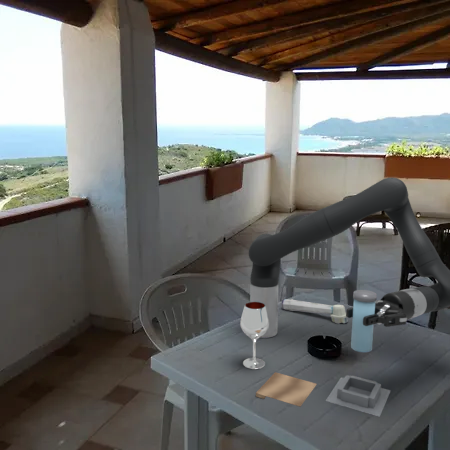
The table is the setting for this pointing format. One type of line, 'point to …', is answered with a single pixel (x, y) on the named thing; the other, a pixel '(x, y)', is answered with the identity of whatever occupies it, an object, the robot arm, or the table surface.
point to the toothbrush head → (317, 309)
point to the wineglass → (254, 329)
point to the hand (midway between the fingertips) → (355, 317)
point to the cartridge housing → (359, 395)
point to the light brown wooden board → (286, 389)
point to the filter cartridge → (362, 308)
